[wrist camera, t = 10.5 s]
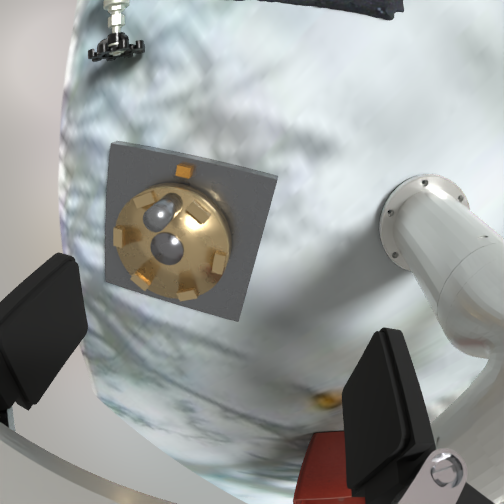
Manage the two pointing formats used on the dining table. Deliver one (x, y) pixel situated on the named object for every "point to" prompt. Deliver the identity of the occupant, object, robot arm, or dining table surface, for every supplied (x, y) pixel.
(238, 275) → the housing
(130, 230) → the brass crank wheel
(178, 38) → the dining table surface
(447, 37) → the dining table surface
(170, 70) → the dining table surface
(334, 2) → the dark slate chunk
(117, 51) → the valve
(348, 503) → the plant pot
